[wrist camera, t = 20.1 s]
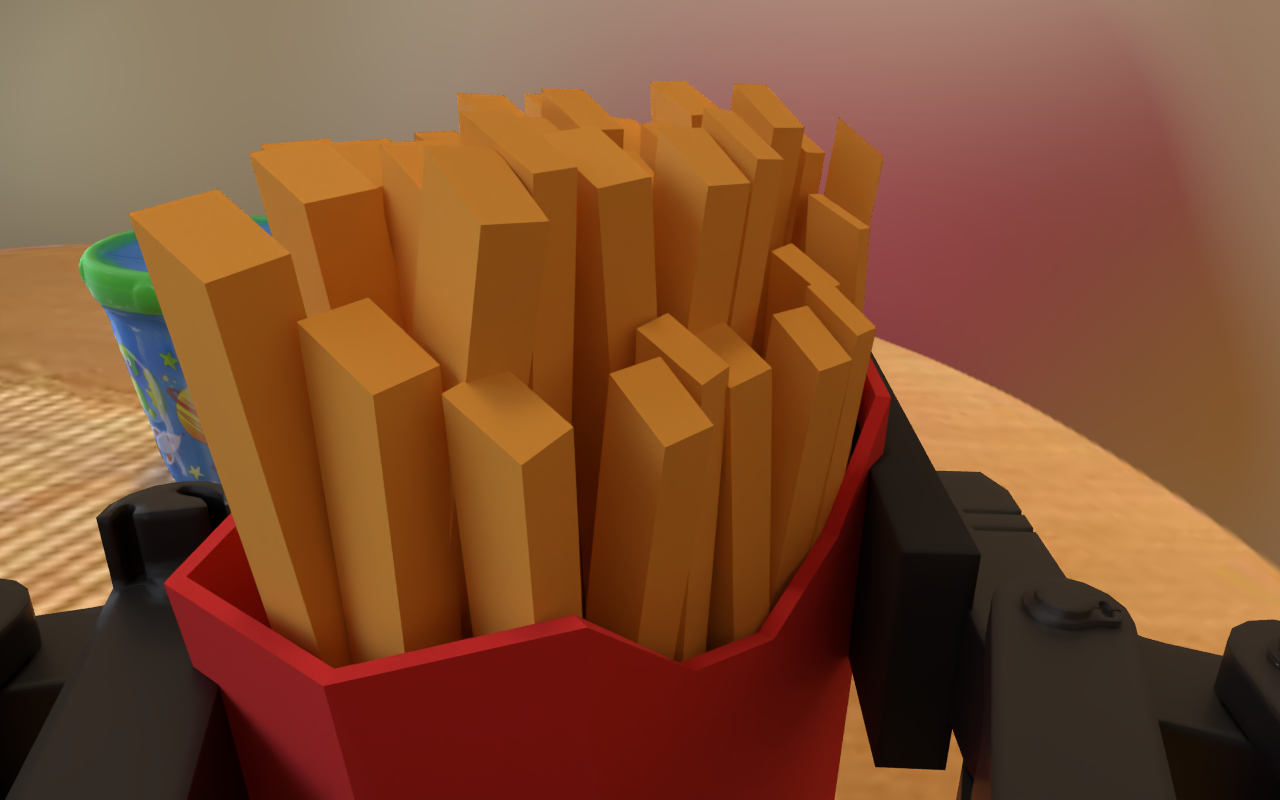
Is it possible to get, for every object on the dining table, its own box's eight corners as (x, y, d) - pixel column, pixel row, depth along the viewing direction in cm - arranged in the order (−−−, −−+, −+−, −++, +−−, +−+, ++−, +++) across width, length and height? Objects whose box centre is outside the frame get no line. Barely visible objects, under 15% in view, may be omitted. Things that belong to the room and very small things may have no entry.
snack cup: (463, 485, 40) (447, 253, 36) (217, 581, 33) (164, 306, 29) (295, 387, 50) (268, 197, 46) (80, 445, 43) (27, 227, 39)
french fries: (512, 1517, 9) (374, 163, 4) (262, 1208, 11) (-15, 111, 7) (884, 877, 16) (996, 79, 11) (680, 767, 18) (696, 69, 13)
